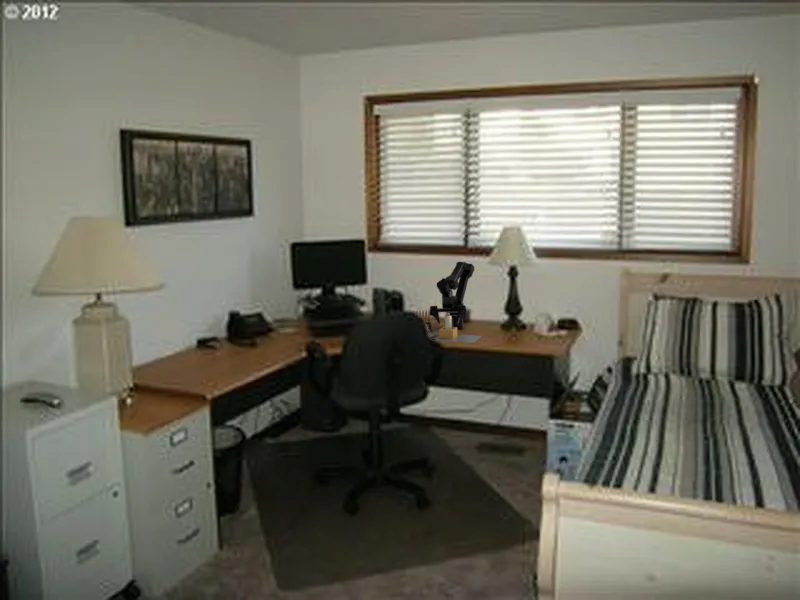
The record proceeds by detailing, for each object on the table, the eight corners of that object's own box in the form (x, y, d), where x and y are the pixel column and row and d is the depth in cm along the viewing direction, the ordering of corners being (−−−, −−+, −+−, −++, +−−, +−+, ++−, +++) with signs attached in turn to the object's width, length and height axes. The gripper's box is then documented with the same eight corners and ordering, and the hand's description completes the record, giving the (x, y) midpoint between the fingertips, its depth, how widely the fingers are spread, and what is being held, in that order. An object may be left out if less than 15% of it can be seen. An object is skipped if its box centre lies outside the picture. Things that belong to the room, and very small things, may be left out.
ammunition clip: (413, 332, 379) (412, 311, 377) (412, 332, 381) (411, 310, 378) (431, 331, 382) (431, 309, 380) (430, 330, 384) (430, 308, 382)
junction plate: (441, 335, 372) (441, 324, 371) (481, 337, 364) (481, 327, 363) (431, 341, 357) (431, 331, 356) (473, 344, 349) (473, 334, 348)
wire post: (446, 335, 365) (446, 312, 363) (452, 336, 364) (452, 312, 362) (444, 337, 362) (443, 313, 360) (450, 337, 361) (450, 314, 359)
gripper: (429, 290, 363) (430, 315, 354) (465, 290, 362) (467, 315, 353) (429, 302, 372) (430, 327, 363) (465, 302, 372) (466, 327, 363)
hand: (448, 324), depth 360 cm, fingers open, 9 cm apart
